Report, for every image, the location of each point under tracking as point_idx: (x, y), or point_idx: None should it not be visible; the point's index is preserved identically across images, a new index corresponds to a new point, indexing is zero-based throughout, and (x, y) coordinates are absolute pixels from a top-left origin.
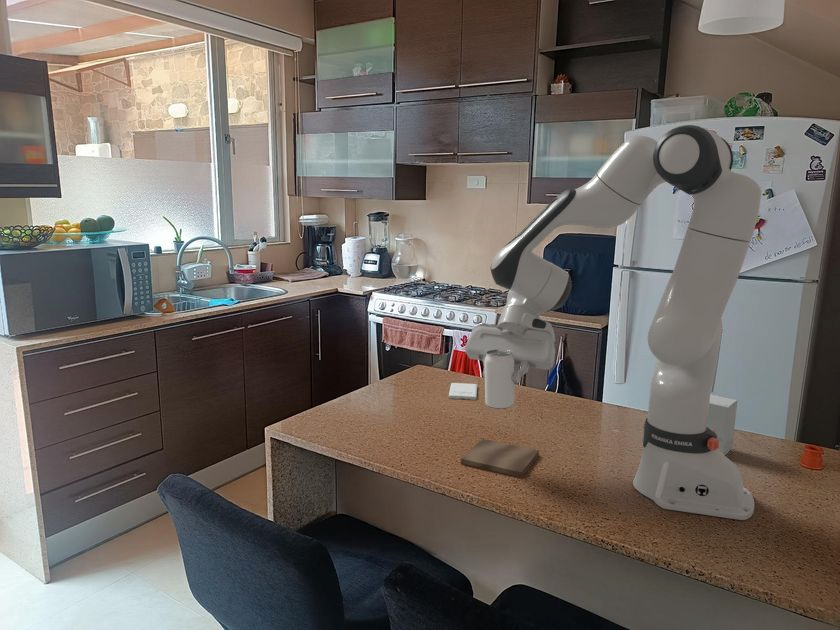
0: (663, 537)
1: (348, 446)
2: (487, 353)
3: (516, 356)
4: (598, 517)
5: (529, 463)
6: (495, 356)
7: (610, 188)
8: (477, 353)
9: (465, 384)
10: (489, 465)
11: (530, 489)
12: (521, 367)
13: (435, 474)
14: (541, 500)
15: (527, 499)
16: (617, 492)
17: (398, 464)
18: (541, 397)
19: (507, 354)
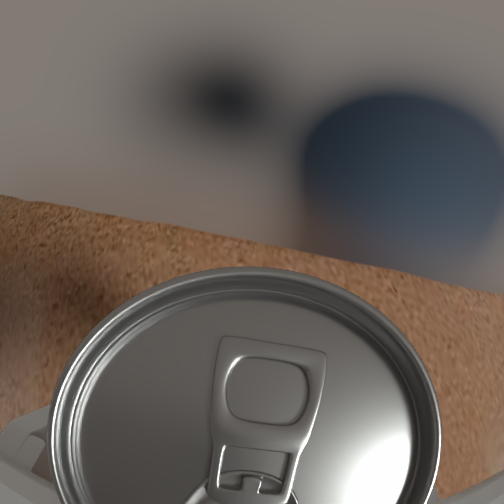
0: (3, 230)
1: (483, 309)
2: (409, 350)
3: (50, 499)
4: (50, 244)
5: None
6: (259, 276)
7: None
8: (490, 477)
9: None
10: None
11: (138, 292)
12: (45, 426)
13: (325, 279)
14: (118, 260)
15: (140, 255)
16: (17, 330)
17: (399, 287)
18: None
19: (113, 454)
